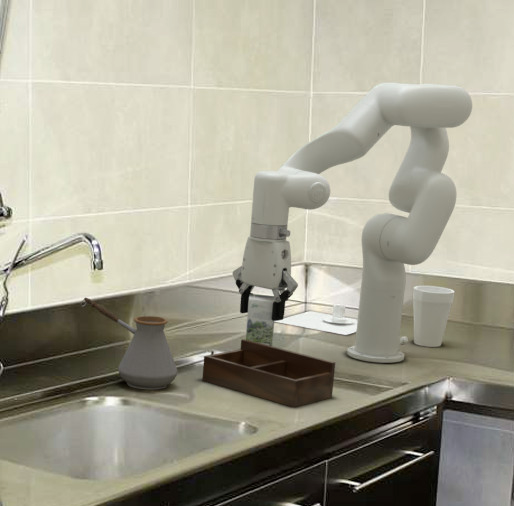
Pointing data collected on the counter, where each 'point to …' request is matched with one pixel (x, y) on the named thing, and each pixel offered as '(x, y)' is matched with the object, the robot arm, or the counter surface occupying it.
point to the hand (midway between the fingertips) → (261, 315)
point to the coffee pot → (145, 352)
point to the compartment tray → (271, 373)
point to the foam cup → (431, 314)
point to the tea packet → (260, 319)
